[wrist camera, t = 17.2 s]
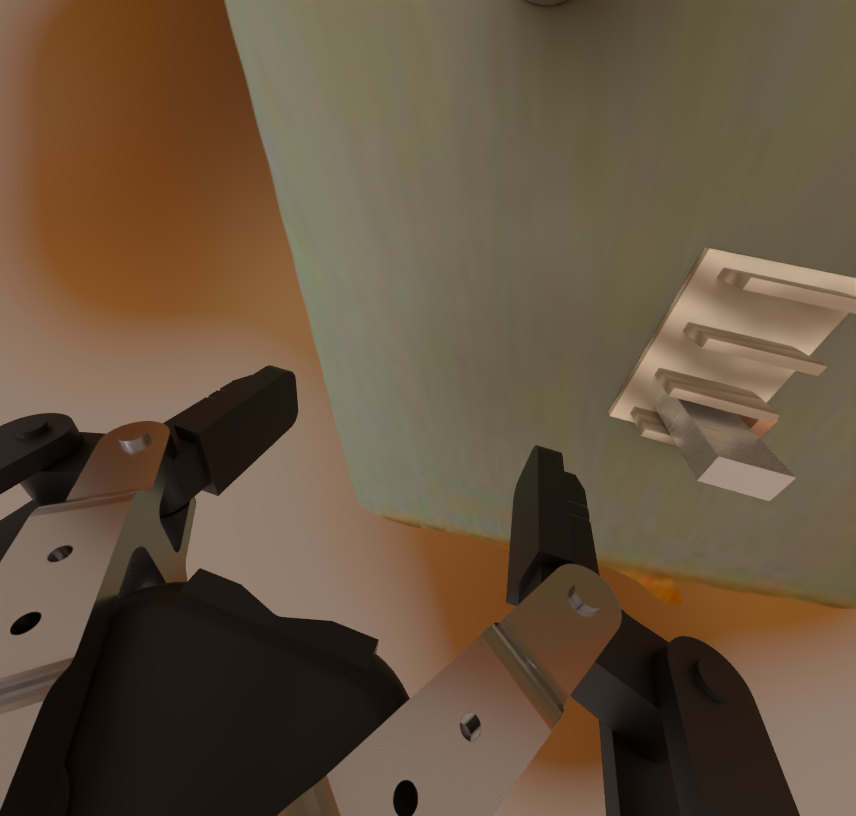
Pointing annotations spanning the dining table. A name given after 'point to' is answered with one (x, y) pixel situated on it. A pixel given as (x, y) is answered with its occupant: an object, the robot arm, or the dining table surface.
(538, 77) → the dining table surface
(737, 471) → the aluminium block
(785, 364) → the slot rack
